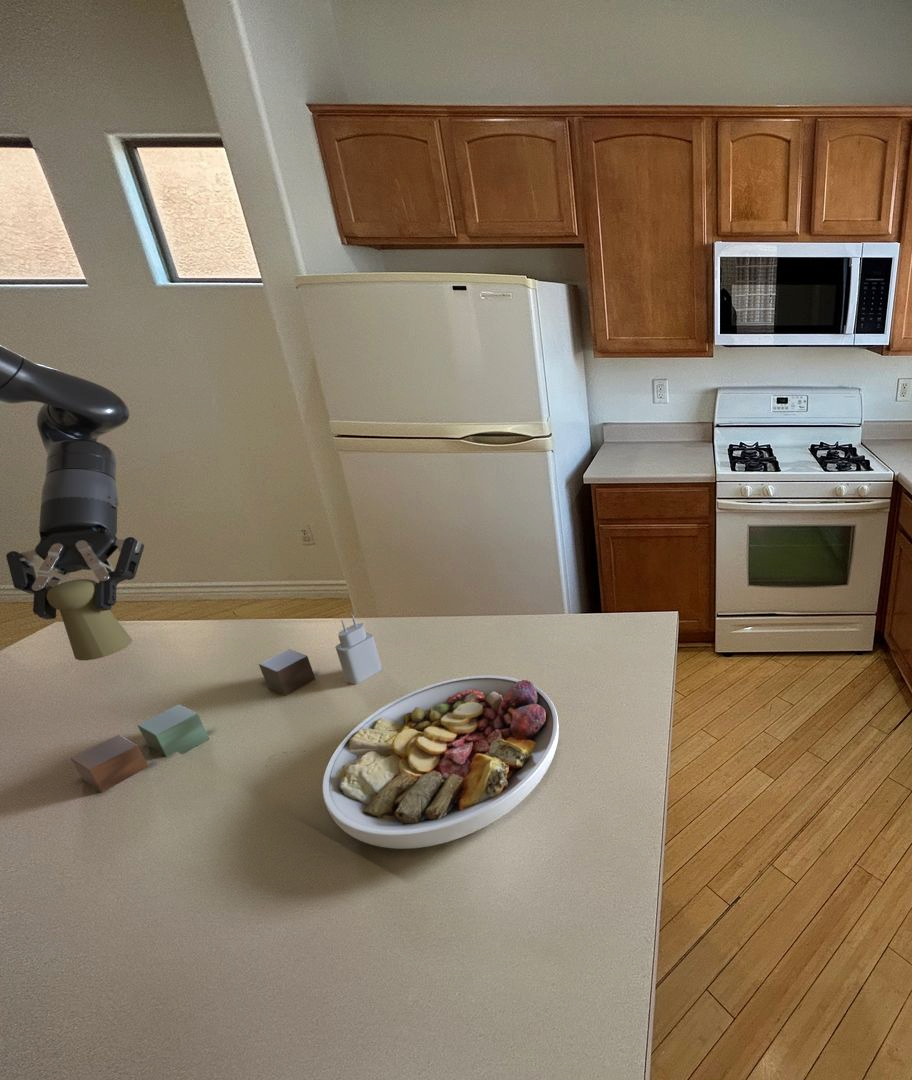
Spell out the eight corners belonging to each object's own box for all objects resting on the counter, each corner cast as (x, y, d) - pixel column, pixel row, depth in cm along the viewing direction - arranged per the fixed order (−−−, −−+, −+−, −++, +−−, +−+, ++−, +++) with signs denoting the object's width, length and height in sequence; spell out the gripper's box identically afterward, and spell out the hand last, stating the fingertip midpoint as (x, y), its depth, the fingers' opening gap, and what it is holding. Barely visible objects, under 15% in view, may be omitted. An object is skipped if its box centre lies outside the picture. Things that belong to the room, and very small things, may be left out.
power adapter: (384, 668, 101) (368, 612, 96) (355, 685, 97) (337, 627, 92) (372, 663, 102) (356, 608, 97) (344, 680, 98) (325, 623, 93)
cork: (86, 642, 83) (51, 578, 79) (139, 632, 86) (108, 570, 81) (65, 664, 79) (27, 598, 74) (122, 653, 81) (88, 588, 77)
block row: (104, 798, 75) (88, 770, 73) (86, 785, 76) (70, 758, 74) (315, 679, 98) (307, 655, 96) (297, 671, 100) (289, 648, 98)
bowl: (397, 915, 61) (380, 867, 58) (296, 781, 78) (279, 738, 74) (602, 754, 83) (599, 712, 80) (490, 676, 100) (483, 639, 96)
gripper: (-9, 502, 77) (-21, 617, 72) (128, 489, 82) (127, 595, 77) (32, 523, 83) (24, 631, 78) (157, 510, 89) (157, 609, 84)
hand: (75, 612), depth 78 cm, fingers closed on cork, 5 cm apart
